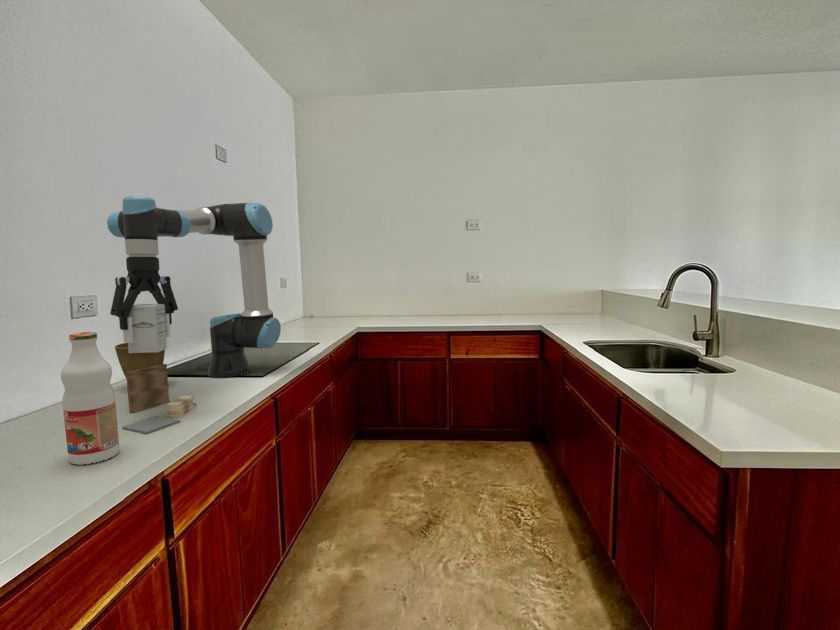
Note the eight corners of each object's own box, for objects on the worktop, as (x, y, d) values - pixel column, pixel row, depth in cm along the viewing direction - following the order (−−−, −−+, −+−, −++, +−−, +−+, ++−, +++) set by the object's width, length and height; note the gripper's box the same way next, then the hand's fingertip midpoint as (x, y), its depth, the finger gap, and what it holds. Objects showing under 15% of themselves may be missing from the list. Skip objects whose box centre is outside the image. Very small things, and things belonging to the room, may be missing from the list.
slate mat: (156, 417, 129) (156, 415, 129) (180, 422, 125) (180, 420, 125) (122, 428, 120) (122, 426, 120) (146, 434, 116) (146, 432, 116)
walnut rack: (167, 401, 144) (164, 363, 143) (169, 401, 144) (166, 364, 142) (129, 412, 133) (126, 372, 132) (131, 413, 133) (128, 372, 131)
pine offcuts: (182, 407, 139) (181, 394, 138) (196, 406, 139) (195, 394, 139) (164, 419, 128) (163, 406, 127) (180, 419, 128) (179, 405, 128)
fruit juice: (125, 455, 103) (115, 332, 100) (74, 470, 96) (61, 338, 93) (112, 445, 109) (101, 328, 106) (63, 458, 102) (50, 334, 99)
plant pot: (145, 382, 168) (141, 339, 166) (178, 384, 164) (175, 340, 162) (107, 393, 154) (103, 346, 152) (143, 396, 150) (139, 348, 148)
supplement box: (127, 353, 120) (124, 305, 119) (139, 349, 127) (136, 303, 126) (158, 352, 122) (155, 305, 120) (168, 348, 129) (165, 303, 128)
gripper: (171, 257, 134) (176, 333, 136) (88, 255, 113) (95, 344, 116) (189, 257, 130) (193, 334, 133) (107, 254, 110) (114, 346, 112)
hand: (148, 339), depth 124 cm, fingers closed on supplement box, 10 cm apart
